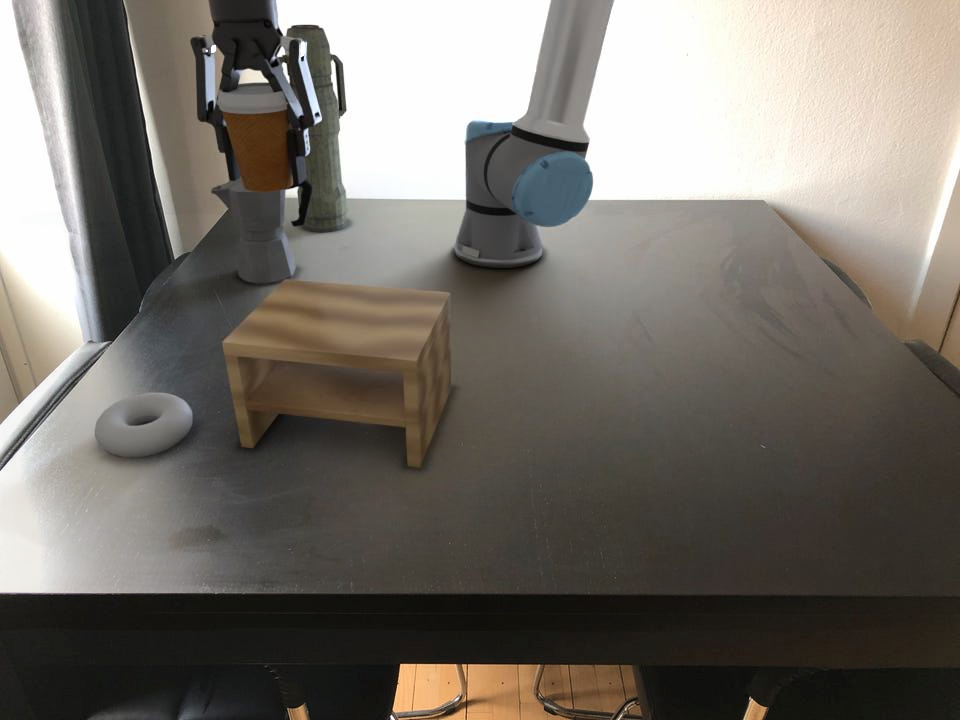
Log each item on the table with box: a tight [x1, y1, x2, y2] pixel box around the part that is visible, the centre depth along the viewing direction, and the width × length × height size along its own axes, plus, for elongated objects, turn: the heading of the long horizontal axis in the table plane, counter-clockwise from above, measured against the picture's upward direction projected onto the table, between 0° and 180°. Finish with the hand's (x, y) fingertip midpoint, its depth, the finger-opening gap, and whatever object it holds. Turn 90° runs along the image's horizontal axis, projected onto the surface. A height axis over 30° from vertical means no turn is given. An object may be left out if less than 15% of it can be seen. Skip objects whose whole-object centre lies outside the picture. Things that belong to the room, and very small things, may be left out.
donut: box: [94, 392, 193, 458], centre depth 81 cm, size 10×4×10 cm
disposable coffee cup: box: [215, 81, 294, 192], centre depth 93 cm, size 10×10×12 cm
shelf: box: [221, 278, 452, 469], centre depth 83 cm, size 16×20×13 cm
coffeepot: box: [210, 177, 313, 285], centre depth 118 cm, size 15×9×18 cm, turn 113°
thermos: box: [277, 24, 349, 233], centre depth 134 cm, size 9×12×35 cm
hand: (268, 179), depth 96 cm, fingers closed on disposable coffee cup, 8 cm apart
